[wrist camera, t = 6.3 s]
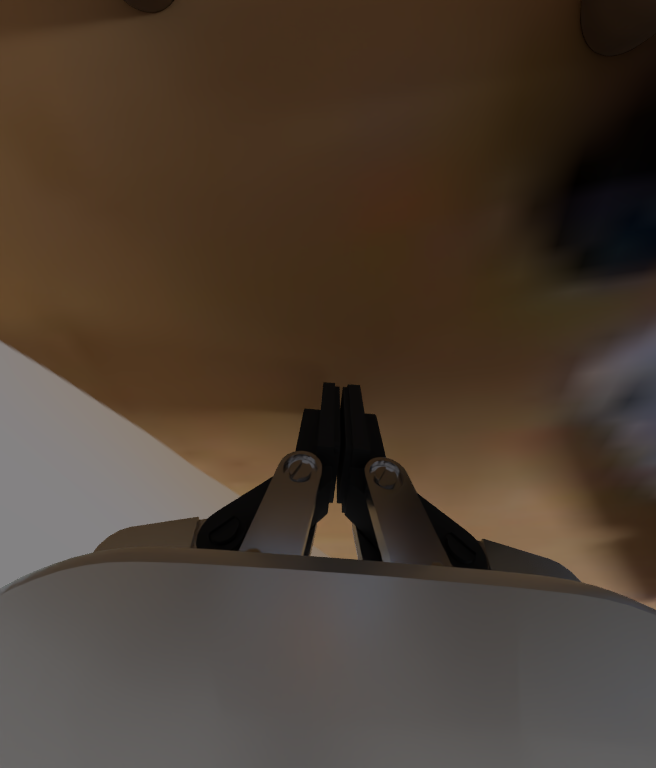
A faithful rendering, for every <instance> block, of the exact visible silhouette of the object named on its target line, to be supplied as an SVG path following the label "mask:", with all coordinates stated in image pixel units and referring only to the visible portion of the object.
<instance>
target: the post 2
mask: <svg viewBox="0 0 656 768" xmlns="http://www.w3.org/2000/svg"><path fill="white" fill-rule="evenodd" d="M581 25H582V31H583V35H584V38H585V40H586V42H587V44H588V45H589V46H590V48H591V49H592V50H594V51H595V52H596V53H598V54H601V55H605V56H613V55H619V54H622V53H625V52H627V51H629V50H631V49H633V48H635V47H636V46H638V45H639V44H641V43H642V42H644V41H645V40H647V39H648V38H650V37H651V36H653V35H654V34H656V0H582V4H581Z"/></svg>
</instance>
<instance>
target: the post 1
mask: <svg viewBox="0 0 656 768" xmlns="http://www.w3.org/2000/svg"><path fill="white" fill-rule="evenodd" d="M124 1H125V2H126V3H128V4H129V5H131V6H132V7H134V8H136V9H138V10H141V11H145V12H157V11H161V10H163V9H164V8H166V7H167V6H168V5H170V4H171V3H172V1H173V0H124Z"/></svg>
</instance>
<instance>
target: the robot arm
mask: <svg viewBox="0 0 656 768" xmlns="http://www.w3.org/2000/svg"><path fill="white" fill-rule="evenodd" d="M336 477H337V503H342V513H345V515H346V516H347V518H348V519H349V520H350V521H351V522H352V530H353V535H354V540H355V545H356V550H357V555H358V560H354V559H341V558H327V557H314V556H310V555H311V550H312V546H313V542H314V537H315V533H316V528H317V522H318V521H320V520H321V519H322V518H323V517H324V516H325V515H326V514H327V513H328V506H329V503H333V498H334V491H335V484H336ZM0 768H656V610H655V609H653V608H651V607H648V606H646V605H644V604H641V603H639V602H637V601H635V600H632V599H630V598H628V597H626V596H623V595H620V594H618V593H615V592H612V591H609V590H606V589H603V588H600V587H597V586H594V585H590V584H586V583H582V582H581V581H580V580H579V579H578V578H577V577H576V576H575V575H574V574H573V573H572V572H571V571H569V570H568V569H566V568H565V567H564V566H562V565H561V564H559V563H557V562H555V561H553V560H551V559H548V558H545V557H541V556H538V555H535V554H531V553H528V552H525V551H522V550H518V549H515V548H512V547H509V546H505V545H502V544H499V543H495V542H492V541H489V540H486V539H482V540H481V541H477V540H476V539H475V538H474V537H473V536H472V535H471V534H470V533H468V532H467V531H466V530H465V529H463V528H462V527H461V526H459V525H458V524H457V523H456V522H454V521H453V520H452V519H450V518H449V517H448V516H446V515H445V514H444V513H442V512H441V511H440V510H439V509H437V508H436V507H435V506H433V505H432V504H431V503H429V502H428V501H427V500H425V499H424V498H423V497H422V496H420V495H419V494H418V493H417V492H416V490H415V488H414V486H413V484H412V482H411V480H410V478H409V476H408V474H407V472H406V471H405V469H404V468H403V467H402V466H401V465H400V464H399V463H397V462H396V461H394V460H392V459H389V458H386V456H385V451H384V447H383V443H382V439H381V434H380V430H379V426H378V422H377V417H376V415H375V414H365V413H364V407H363V401H362V395H361V389H360V385H350V384H348V386H347V387H343V390H342V398H341V406H340V387H337V386H335V383H326V382H324V383H323V393H322V402H321V410H315V409H304V412H303V417H302V422H301V427H300V432H299V436H298V441H297V446H296V451H295V452H292V453H290V454H287V455H286V456H285V457H284V458H283V459H282V460H281V461H280V463H279V465H278V467H277V469H276V471H275V474H274V476H273V477H271V478H270V479H268V480H267V481H265V482H263V483H262V484H260V485H259V486H257V487H255V488H254V489H252V490H250V491H249V492H247V493H246V494H244V495H242V496H241V497H239V498H238V499H236V500H235V501H233V502H231V503H230V504H228V505H226V506H225V507H223V508H222V509H220V510H218V511H217V512H216V513H214V514H213V515H212V516H210V517H209V518H208V519H203V520H199V517H193V518H187V519H180V520H174V521H167V522H161V523H154V524H147V525H141V526H134V527H129V528H126V529H123V530H119V531H118V532H116V533H114V534H112V535H111V536H109V537H108V538H106V539H105V540H104V541H103V542H102V543H101V544H100V545H99V546H98V547H97V548H96V549H95V551H94V552H93V553H89V554H85V555H82V556H77V557H74V558H70V559H67V560H64V561H62V562H58V563H55V564H52V565H50V566H48V567H44V568H42V569H39V570H37V571H34V572H32V573H30V574H28V575H25V576H23V577H21V578H19V579H17V580H15V581H13V582H11V583H10V584H8V585H6V586H4V587H2V588H1V589H0Z"/></svg>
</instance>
